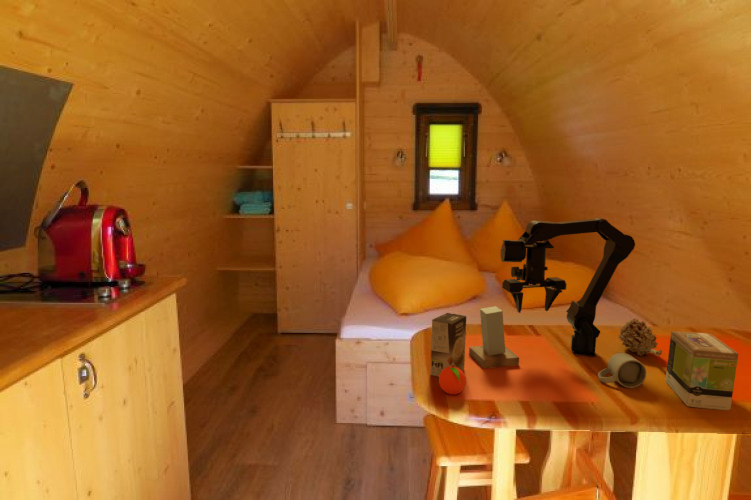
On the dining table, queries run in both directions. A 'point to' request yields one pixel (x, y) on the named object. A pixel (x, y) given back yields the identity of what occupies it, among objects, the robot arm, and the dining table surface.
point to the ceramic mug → (624, 371)
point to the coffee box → (448, 342)
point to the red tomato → (452, 380)
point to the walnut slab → (493, 358)
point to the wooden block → (492, 330)
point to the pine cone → (639, 338)
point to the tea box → (701, 370)
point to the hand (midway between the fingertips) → (532, 311)
